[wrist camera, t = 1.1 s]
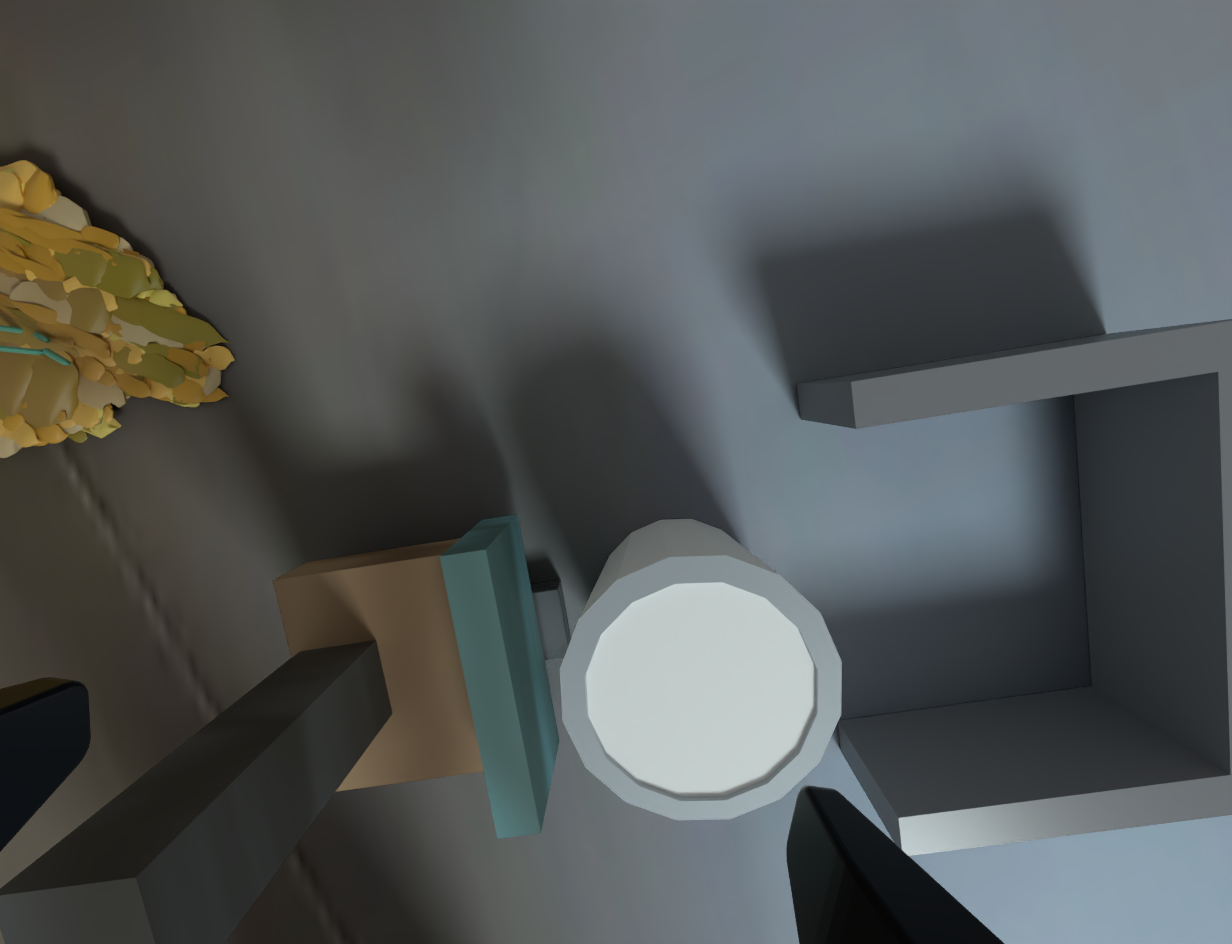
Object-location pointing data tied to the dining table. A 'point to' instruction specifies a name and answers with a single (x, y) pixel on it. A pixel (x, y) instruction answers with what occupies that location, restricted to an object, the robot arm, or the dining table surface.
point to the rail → (551, 619)
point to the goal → (1115, 595)
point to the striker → (317, 743)
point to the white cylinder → (698, 676)
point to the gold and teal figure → (85, 323)
